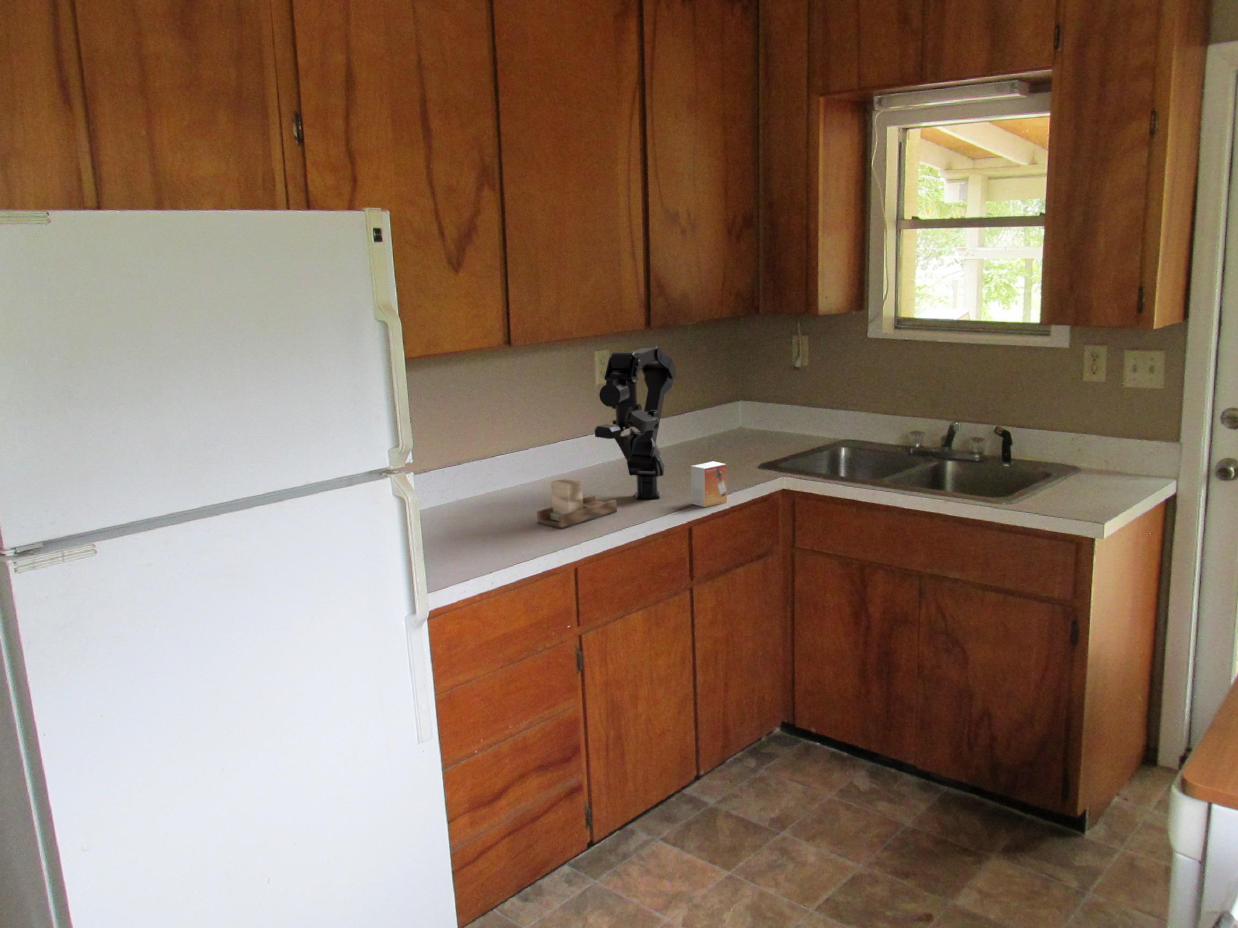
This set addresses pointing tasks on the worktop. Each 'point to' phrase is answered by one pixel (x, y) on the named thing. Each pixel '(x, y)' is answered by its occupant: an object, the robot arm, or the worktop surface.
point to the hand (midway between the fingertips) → (628, 459)
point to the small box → (709, 484)
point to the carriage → (566, 496)
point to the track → (577, 513)
